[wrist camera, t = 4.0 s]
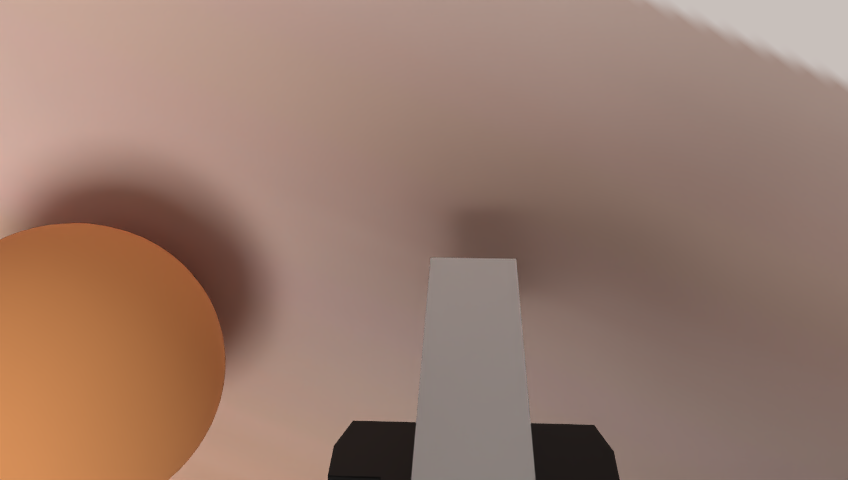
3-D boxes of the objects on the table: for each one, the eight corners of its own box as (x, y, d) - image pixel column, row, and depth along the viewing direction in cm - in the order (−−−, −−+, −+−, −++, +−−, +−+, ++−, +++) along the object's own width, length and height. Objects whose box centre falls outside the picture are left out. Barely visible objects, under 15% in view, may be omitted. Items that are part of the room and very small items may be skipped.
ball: (234, 172, 16) (127, 336, 11) (271, 387, 19) (199, 593, 14) (-29, 176, 16) (-237, 336, 12) (45, 386, 19) (-101, 586, 14)
